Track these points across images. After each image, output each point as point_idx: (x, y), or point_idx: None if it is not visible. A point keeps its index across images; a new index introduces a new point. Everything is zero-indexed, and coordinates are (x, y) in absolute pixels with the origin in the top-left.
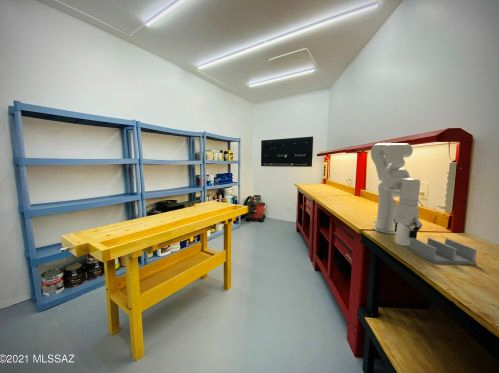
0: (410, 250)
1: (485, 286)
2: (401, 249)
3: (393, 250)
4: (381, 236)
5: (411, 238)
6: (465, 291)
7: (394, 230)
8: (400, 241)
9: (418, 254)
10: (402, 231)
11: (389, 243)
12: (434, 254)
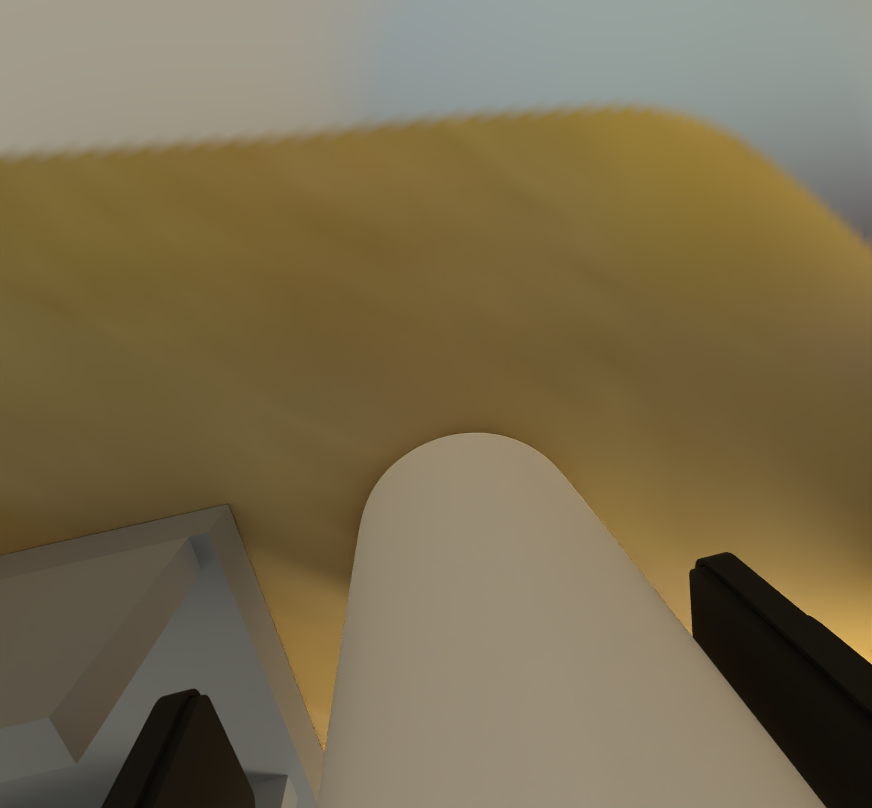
0: (177, 518)
1: None
2: (184, 394)
3: (48, 206)
4: (803, 316)
5: (28, 706)
6: None
7: (741, 564)
8: (389, 492)
9: (17, 557)
10: (367, 702)
11: (437, 304)
12: None
